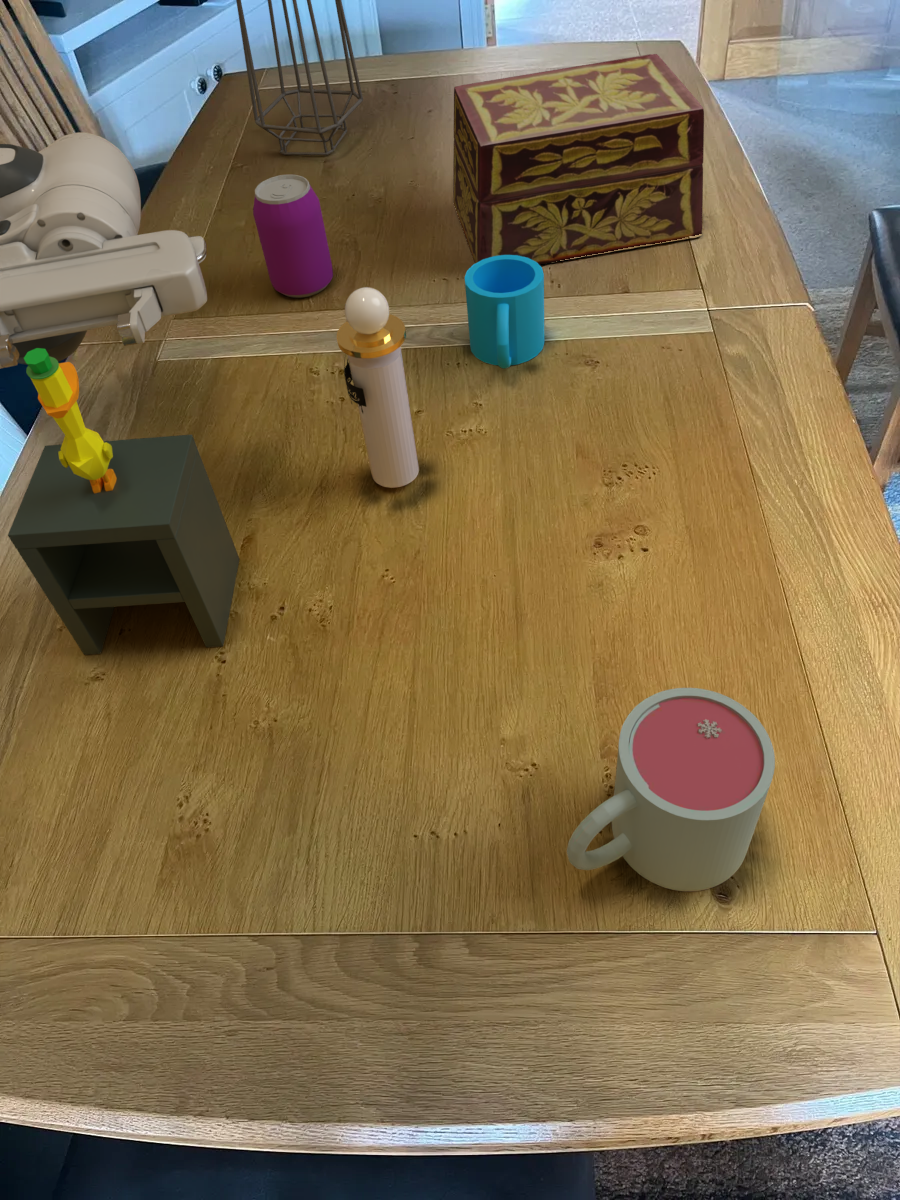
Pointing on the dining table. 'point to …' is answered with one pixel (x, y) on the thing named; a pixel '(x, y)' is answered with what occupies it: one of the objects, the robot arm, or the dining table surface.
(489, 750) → the dining table surface
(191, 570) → the shelf
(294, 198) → the beverage can
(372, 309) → the perfume bottle
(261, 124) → the geometric lantern
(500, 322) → the mug
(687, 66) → the dining table surface
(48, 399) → the toy figure
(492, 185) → the decorative box
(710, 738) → the mug
